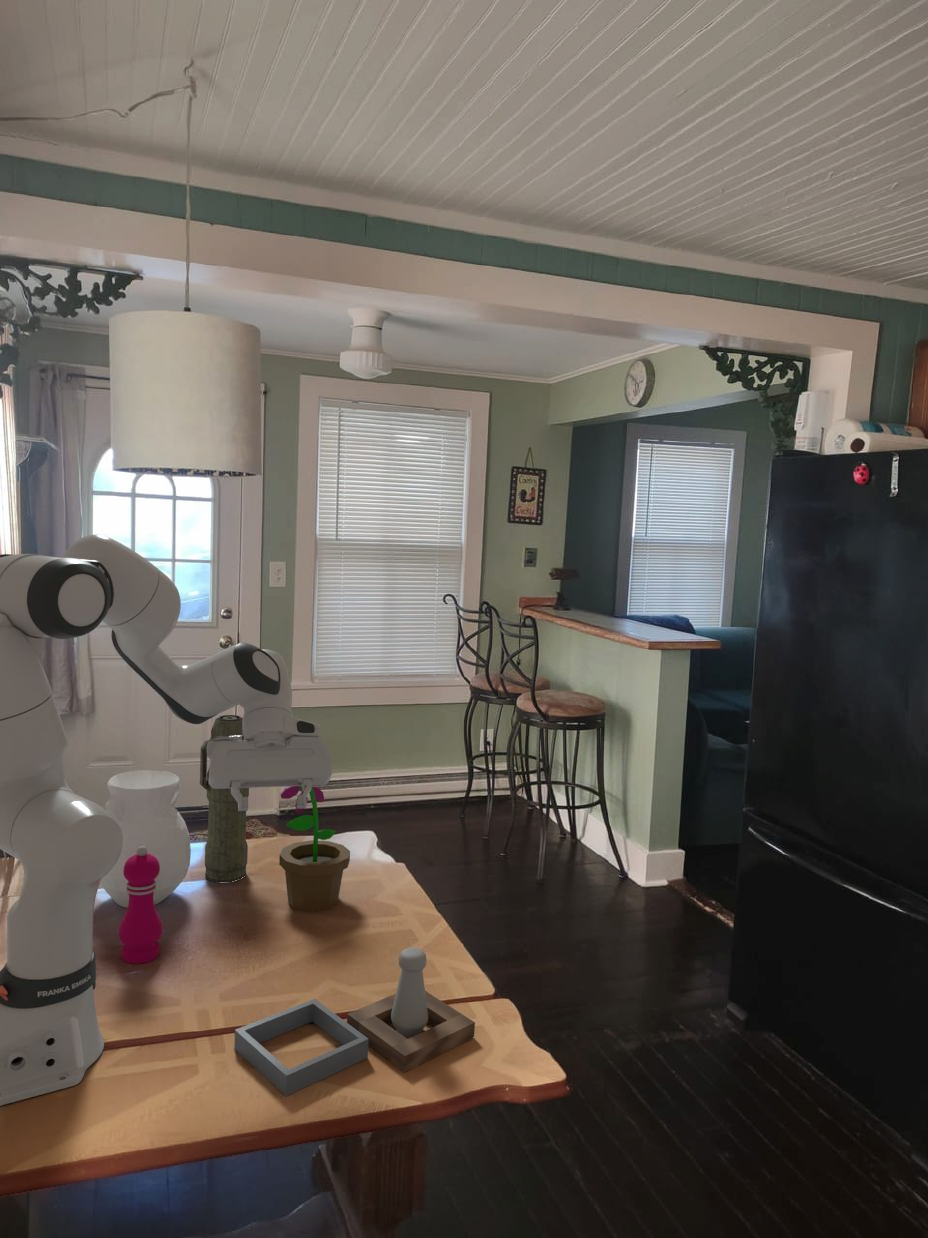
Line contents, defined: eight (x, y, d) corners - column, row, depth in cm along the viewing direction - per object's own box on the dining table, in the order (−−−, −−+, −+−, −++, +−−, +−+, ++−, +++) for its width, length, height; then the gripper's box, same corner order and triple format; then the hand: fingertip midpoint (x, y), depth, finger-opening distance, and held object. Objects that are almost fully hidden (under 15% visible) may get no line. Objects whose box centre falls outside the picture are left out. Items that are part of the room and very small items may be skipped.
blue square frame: (285, 1096, 122) (286, 1075, 122) (234, 1049, 132) (234, 1030, 132) (367, 1058, 132) (368, 1039, 131) (314, 1016, 142) (314, 998, 141)
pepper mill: (112, 952, 158) (113, 843, 156) (152, 942, 163) (154, 836, 161) (127, 969, 153) (128, 857, 151) (168, 958, 157) (170, 848, 155)
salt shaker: (418, 1046, 135) (422, 964, 134) (384, 1036, 137) (387, 956, 136) (433, 1026, 141) (437, 947, 139) (400, 1017, 143) (403, 940, 141)
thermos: (191, 873, 194) (194, 715, 190) (242, 863, 201) (246, 710, 198) (207, 888, 187) (211, 724, 183) (259, 876, 195) (264, 719, 191)
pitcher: (137, 928, 168) (138, 799, 165) (72, 903, 177) (72, 780, 174) (209, 894, 184) (212, 776, 182) (147, 873, 193) (148, 760, 190)
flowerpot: (320, 881, 194) (325, 746, 191) (362, 903, 184) (368, 761, 181) (264, 898, 184) (268, 756, 181) (305, 922, 174) (310, 772, 171)
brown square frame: (404, 1072, 129) (404, 1056, 128) (346, 1029, 139) (347, 1014, 138) (474, 1037, 138) (474, 1022, 138) (415, 999, 148) (416, 985, 148)
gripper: (207, 726, 149) (207, 801, 141) (329, 725, 155) (337, 796, 147) (205, 746, 154) (205, 820, 145) (324, 743, 160) (331, 814, 152)
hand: (272, 808), depth 146 cm, fingers open, 8 cm apart
